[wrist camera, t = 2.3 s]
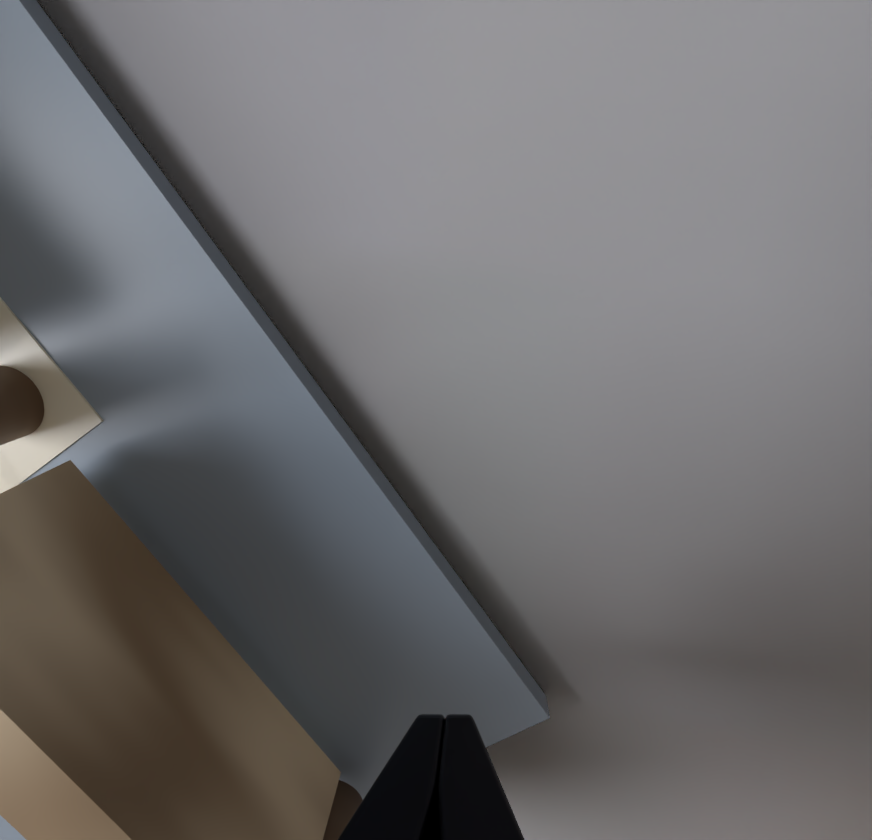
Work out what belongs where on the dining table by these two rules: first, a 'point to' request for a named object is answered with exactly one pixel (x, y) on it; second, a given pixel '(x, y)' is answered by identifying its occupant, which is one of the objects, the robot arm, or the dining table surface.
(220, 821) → the bar
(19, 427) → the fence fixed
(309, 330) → the dining table surface
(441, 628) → the mat
